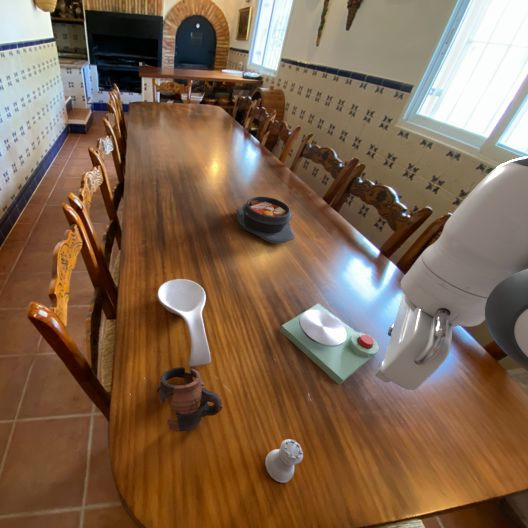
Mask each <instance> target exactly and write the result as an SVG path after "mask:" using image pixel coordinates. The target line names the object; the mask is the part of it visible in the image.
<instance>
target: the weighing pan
mask: <svg viewBox="0 0 528 528" xmlns="http://www.w3.org/2000/svg"><path fill="white" fill-rule="evenodd" d="M305 311H306V310H305ZM305 311H303V312H304V313H303V312H302V313H303V314H302V315H301V317H300V319H299V325H300V328H301V330H302V332H303V333H304V334H305V335H306V336H307V337H308V338H309V339H310V340H312V341H313V342H315V343H317V344H319V345H322V346H326V347H336V346H339V345H341V344H342V343H343V342H344V341H345V339H346V330H345V328H344V326H343V325H342V324H341V322H340V321H339V320H337V319H336V318H335V317H333V316H332V315H330V314H328V313H326V312H323V311H319V310H309V311H306V312H305Z"/></svg>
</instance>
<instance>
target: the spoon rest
mask: <svg viewBox="0 0 528 528" xmlns="http://www.w3.org/2000/svg"><path fill="white" fill-rule="evenodd" d="M156 295H157V299H158V301H159V303H160V304H161V306H162V307H163V308H165V309H166V310H167V311H169V312H170V313H172V314H175V315H178V316H179V317H181V318H182V319H183V320H184V322H185V323H186V325H187V326H186V327H187V329H188V333H189V336H190V337H189V338H190V353H189V354H190V355H189V359H188V367H191V368H192V367H198V366H204V365H209V364H211V361H212V359H211V352H210V348H209V347H210V346H209V342H208V339H207V334H206V328H205V325H204V319H203V310H204V308H205V305H206V301H207V300H206V299H207V296H206V292H205V290H204V288H203V286H201V285H200V284H199V283H197V282H196V281H193V280H190V279H184V278H178V279H171V280H168V281H166V282H163V283H162V284H161V285H160V286H159V288H158V290H157V294H156Z"/></svg>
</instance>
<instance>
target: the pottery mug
mask: <svg viewBox="0 0 528 528" xmlns="http://www.w3.org/2000/svg"><path fill="white" fill-rule="evenodd" d="M201 377H202V376H201V373H200V372H199V371H198V370H197V369H194V368H190V370H189V371H186V367H184V366H178V367H173V368H170V369H168V370H166V371H164V372H163V373H162V374H161V376H160V379H159V380H160V382H159V384H158V385H157V388H156V393H159V401H160V403H162V404H165V403H166V400H167V399H169V397H171V396H172V397H171V401H170V404H169V405H170V409H171V410H172V411H173V412H175V416H176V419H173V418H170V417H168V419H167V426H168V429H170V430H171V431H174V432H181V433H185V432H186V433H187V432H190V431H193V430H195V429H197V428H198V427H199V426H200V424H201V421H202V420H203V418H205V417H212V416H216V415H218V414H219V413H220V412H221V411H222V409H223V407H224V404H223V400H222V397H221V396H220V395H219V394H218V393H217V392H215V391H211V390H208V389H207V388H206V387H204V382H203V380H202V379H201ZM174 378H177V379H178V378H179V379H184V381H185V383H186V384H184V385H183V384H182V385H173V384H170V383H168V382H167V381H169V380H172V379H174ZM194 378H195V379H194ZM209 403H212V405H211V404H209ZM198 404H199V405H198Z"/></svg>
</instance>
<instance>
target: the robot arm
mask: <svg viewBox="0 0 528 528" xmlns="http://www.w3.org/2000/svg"><path fill="white" fill-rule="evenodd" d="M400 289H401V290H402V295H401V298H400V302H399V305H398V309H397V313H396V315H395V319H394V321H393V323H391V325H390V327H388V331H387V335H388V337H389V340H388V344H387V347H386V351H385V354H384V357H383V361H382V362H381V363H380V364H379V365H378V366H377V368H376V372H375V377H376V378H378V379H379V380H381V381H382V382H384V383H390V382H391V383H394V384H395V385H397V386H399V387H401V388H402V389H405V390H408V391H416V390H418V389H419V388H420V387H421V386H422V385H423V384H424V383H425V382H426V381H427V380H429V378H430V377H431V376H432V375H433V374H434V373H435V372H436V371H437V370H438V369H439V368H440V367H441V366H442V364H444V362H445V361H446V359H447V358H448V356H449V354H450V353H451V349H452V339H453V329H454V328H455V327H464V328H465V327H466V328H467V327H471V328H472V327H476V326H479V325H481V324H482V323H483V322H484V321H485V324H486V327H487V329H488V332H489V334H490V335H491V337H492V339H493V341H494V342H495V343H496V345H497V346H498V347H499V348H500V350H502V351H503V353H504V354H505V355H507V356H508V357H509V359H511V360H512V361H513V362H515V363H516V364H517V365H518V366H520V367H521V368H522V369H524V370H525V371H527V372H528V156H523V157H518V158H515V159H511V160H509V161H507V162H503V163H501V164H499V165H498V166H497V167H495V168H494V169H493V170H491V171H490V172H488V174H487V175H486V176H485V177H483V178H482V180H480V182H479V183H478V184H477V185H476V186H475V187H474V188H473V189H472V190H471V191H470V192H469V194H468V195H467V196H466V197H465V198H464V199H463V200H462V201H461V203H460V204H459V205H458V206H457V207H456V209H455V210H454V211H453V212H452V214H451V215H450V216H449V218H448V219H447V220H446V222H445V223H444V225H443V229H442V232H441V234H440V235H439V237H438V238H437V239H436V241H434V242H433V243H432V244H430V245H429V246H427V247H426V248H425V249H424V250H423V251H422V253H421V254H420V255H419V256H418V258H417V259H416V260H415V262H414V263H413V264H412V266H411V267H410V268H409V270H408V271H407V272H406V273H405V275H404V276H403V277H402V278H401V281H400Z"/></svg>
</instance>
